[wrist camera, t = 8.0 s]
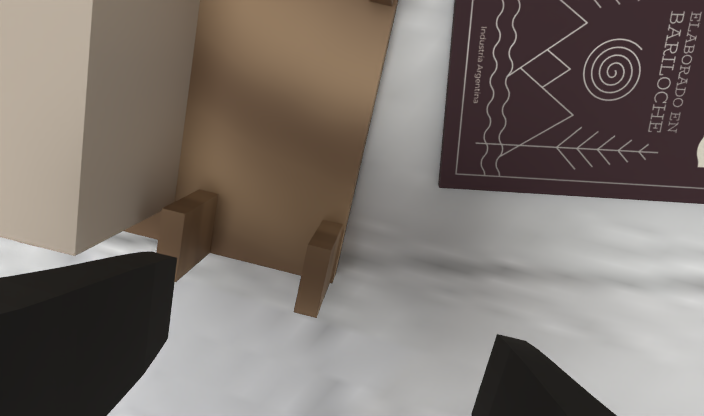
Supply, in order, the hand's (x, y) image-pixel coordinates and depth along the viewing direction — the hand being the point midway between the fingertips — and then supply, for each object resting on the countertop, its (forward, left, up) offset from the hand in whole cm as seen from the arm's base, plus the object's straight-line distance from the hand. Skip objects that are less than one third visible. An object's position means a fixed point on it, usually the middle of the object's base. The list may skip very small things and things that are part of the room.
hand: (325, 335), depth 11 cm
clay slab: (-1, +9, -8) cm, 13 cm away
